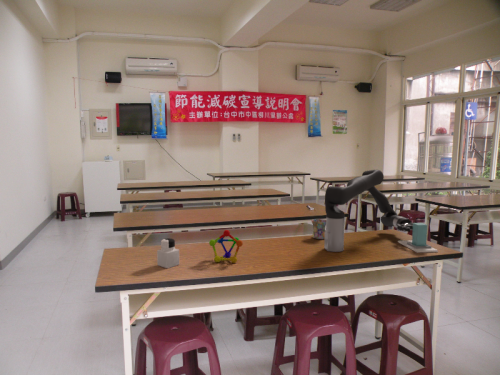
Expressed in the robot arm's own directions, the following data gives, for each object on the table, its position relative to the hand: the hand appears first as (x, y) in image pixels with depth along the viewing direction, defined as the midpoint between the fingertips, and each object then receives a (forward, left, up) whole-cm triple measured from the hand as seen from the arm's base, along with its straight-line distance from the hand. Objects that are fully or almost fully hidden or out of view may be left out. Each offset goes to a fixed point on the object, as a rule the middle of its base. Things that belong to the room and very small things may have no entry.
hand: (417, 230), depth 188 cm
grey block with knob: (-129, -22, -9) cm, 131 cm away
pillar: (0, -3, -8) cm, 9 cm away
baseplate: (0, -1, -9) cm, 9 cm away
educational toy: (-103, -16, -9) cm, 105 cm away
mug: (-48, +23, -9) cm, 54 cm away
